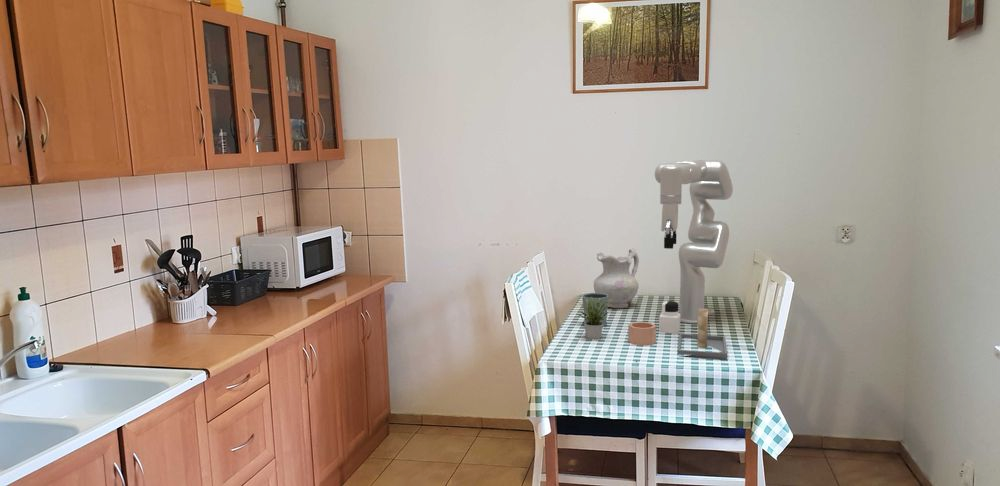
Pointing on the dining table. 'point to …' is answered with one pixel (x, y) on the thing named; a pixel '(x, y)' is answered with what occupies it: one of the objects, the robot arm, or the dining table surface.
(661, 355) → the dining table surface
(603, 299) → the blue-grey plant pot
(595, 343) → the dining table surface
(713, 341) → the tray
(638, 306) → the dining table surface
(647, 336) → the cup
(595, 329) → the house plant
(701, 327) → the dowel
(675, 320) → the medicine bottle
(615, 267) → the ceramic pitcher
